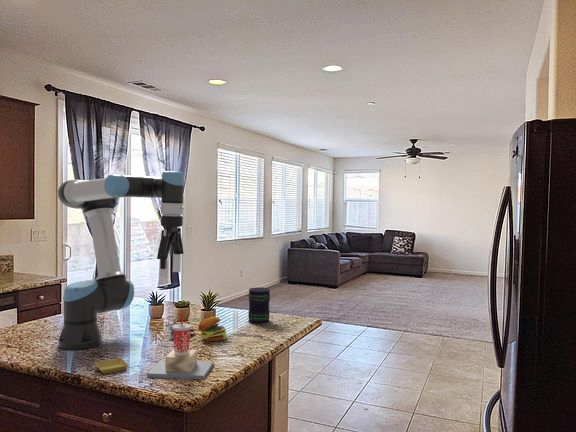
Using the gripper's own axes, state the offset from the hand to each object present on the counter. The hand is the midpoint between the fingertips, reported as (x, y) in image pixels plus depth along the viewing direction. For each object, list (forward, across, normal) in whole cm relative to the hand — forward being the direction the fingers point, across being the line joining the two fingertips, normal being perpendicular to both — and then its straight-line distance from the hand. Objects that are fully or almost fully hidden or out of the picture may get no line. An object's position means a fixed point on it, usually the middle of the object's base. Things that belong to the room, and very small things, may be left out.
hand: (170, 275), depth 166 cm
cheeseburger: (+29, +21, -11) cm, 38 cm away
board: (+28, -15, -10) cm, 33 cm away
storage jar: (+29, +51, -25) cm, 64 cm away
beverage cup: (+23, -15, -10) cm, 29 cm away
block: (+27, -15, -10) cm, 32 cm away
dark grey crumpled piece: (+30, +23, +4) cm, 38 cm away
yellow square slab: (+29, -16, +13) cm, 36 cm away
